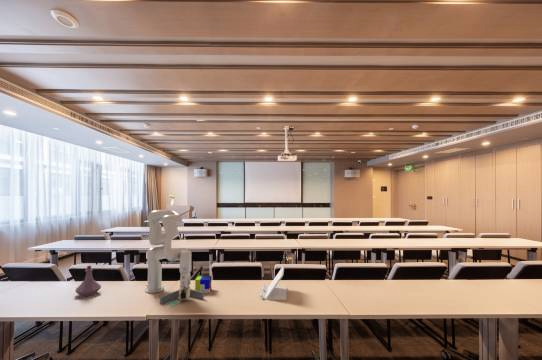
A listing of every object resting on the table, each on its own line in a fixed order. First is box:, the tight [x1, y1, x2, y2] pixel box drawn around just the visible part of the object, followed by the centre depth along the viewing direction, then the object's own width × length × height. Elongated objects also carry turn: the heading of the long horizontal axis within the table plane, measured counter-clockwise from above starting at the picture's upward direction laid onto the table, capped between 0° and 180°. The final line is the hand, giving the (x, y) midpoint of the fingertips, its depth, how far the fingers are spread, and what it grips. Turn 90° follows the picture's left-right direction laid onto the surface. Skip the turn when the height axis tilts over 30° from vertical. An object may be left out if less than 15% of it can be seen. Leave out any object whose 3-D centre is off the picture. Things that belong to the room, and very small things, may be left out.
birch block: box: [178, 286, 191, 300], centre depth 189 cm, size 6×6×6 cm
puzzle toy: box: [194, 275, 212, 294], centre depth 209 cm, size 10×10×10 cm
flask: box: [75, 265, 102, 298], centre depth 203 cm, size 16×16×20 cm
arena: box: [159, 288, 205, 307], centre depth 188 cm, size 18×21×5 cm
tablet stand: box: [259, 265, 288, 301], centre depth 205 cm, size 18×25×17 cm
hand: (184, 296), depth 189 cm, fingers closed on birch block, 6 cm apart
